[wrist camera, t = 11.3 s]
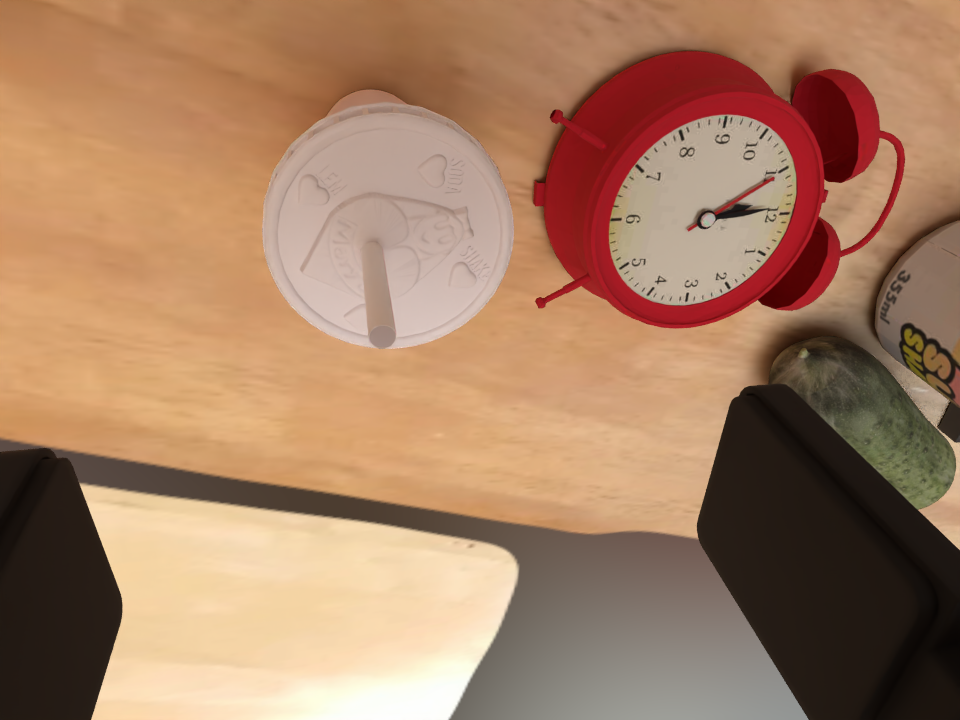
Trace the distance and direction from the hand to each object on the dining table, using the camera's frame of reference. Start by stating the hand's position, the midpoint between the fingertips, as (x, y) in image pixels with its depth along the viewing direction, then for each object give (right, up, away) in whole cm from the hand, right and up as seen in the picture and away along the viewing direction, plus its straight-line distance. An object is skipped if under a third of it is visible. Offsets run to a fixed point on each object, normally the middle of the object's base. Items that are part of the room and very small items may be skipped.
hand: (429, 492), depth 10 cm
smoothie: (-3, +10, +15) cm, 19 cm away
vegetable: (+20, 0, +27) cm, 33 cm away
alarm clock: (+10, +9, +18) cm, 23 cm away
